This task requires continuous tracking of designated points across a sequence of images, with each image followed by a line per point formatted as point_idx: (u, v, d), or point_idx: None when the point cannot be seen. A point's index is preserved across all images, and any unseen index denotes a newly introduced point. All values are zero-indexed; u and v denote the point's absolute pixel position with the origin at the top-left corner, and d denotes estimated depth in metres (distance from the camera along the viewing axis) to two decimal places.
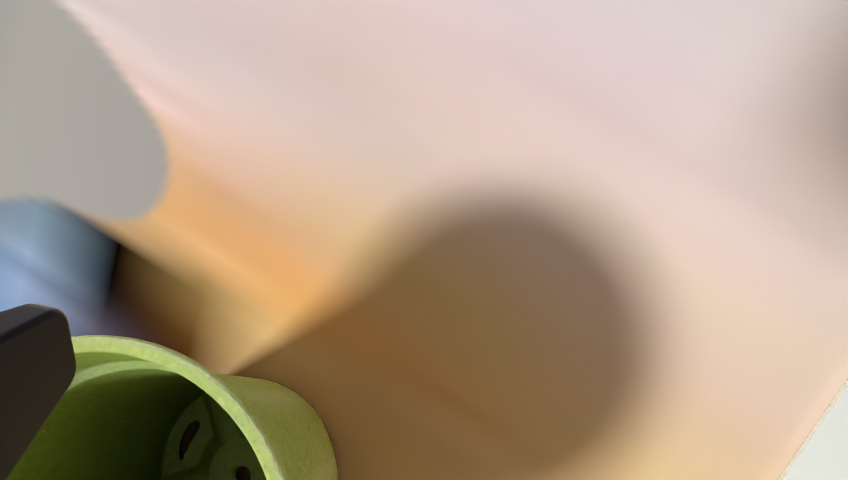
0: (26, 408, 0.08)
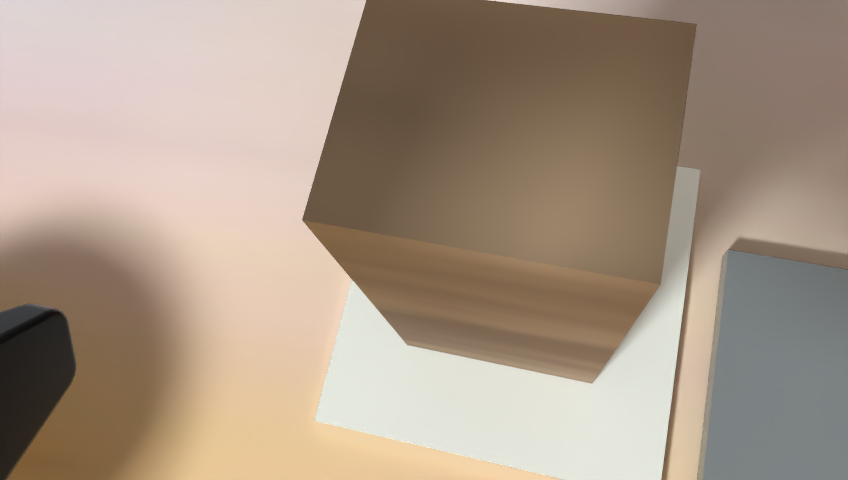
0: (26, 408, 0.08)
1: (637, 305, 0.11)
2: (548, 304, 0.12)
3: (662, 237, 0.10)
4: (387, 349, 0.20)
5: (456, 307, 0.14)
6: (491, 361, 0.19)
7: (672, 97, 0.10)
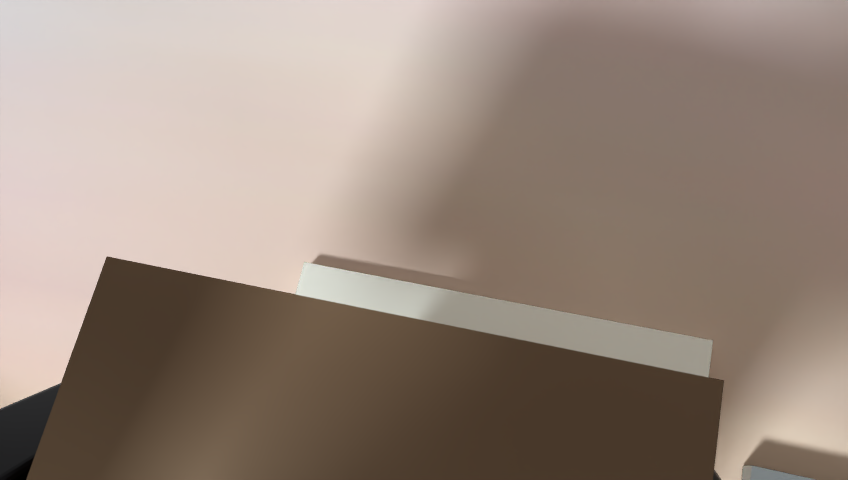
0: None
1: None
2: None
3: None
4: None
5: None
6: None
7: None
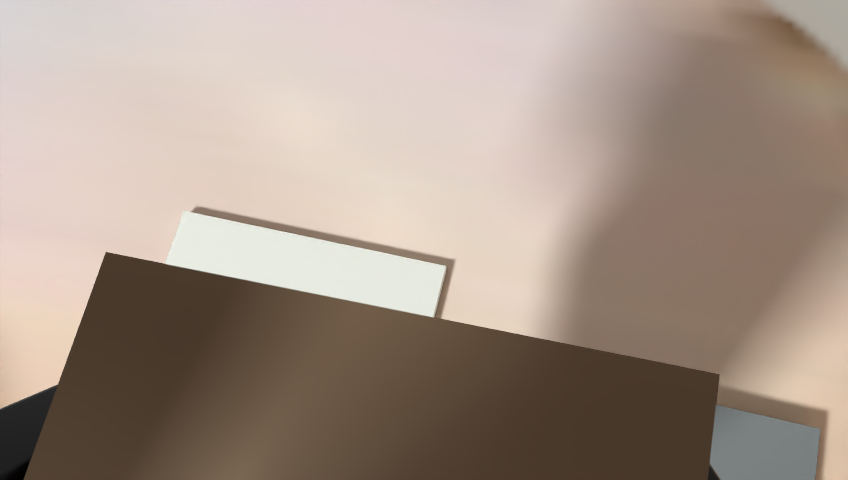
0: None
1: None
2: None
3: None
4: None
5: None
6: None
7: None
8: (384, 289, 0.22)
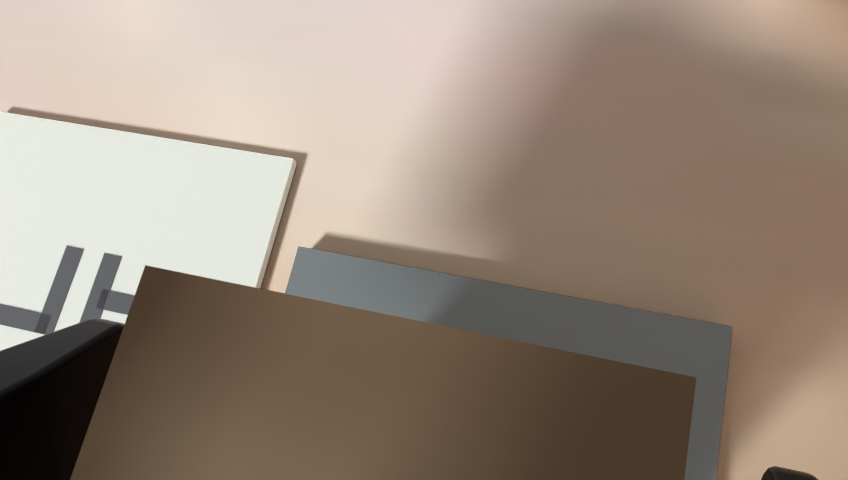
0: None
1: None
2: None
3: None
4: None
5: None
6: None
7: None
8: (220, 188, 0.19)
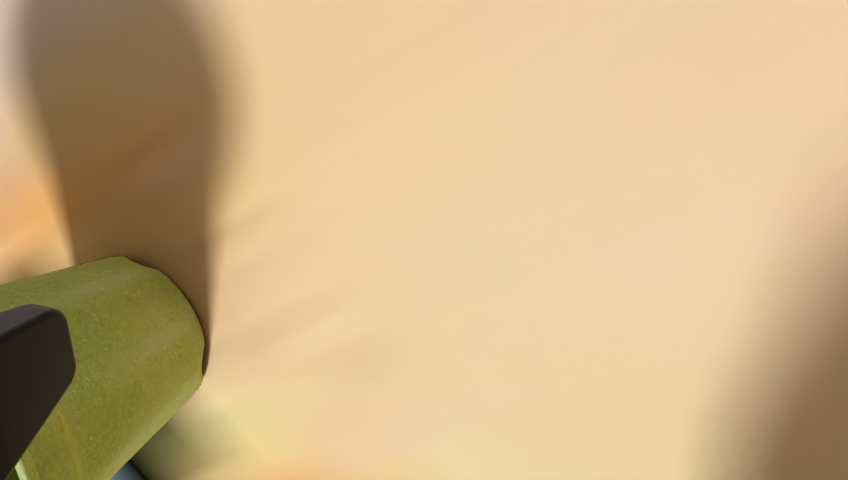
0: (26, 408, 0.08)
1: None
2: None
3: None
4: None
5: None
6: None
7: None
8: None
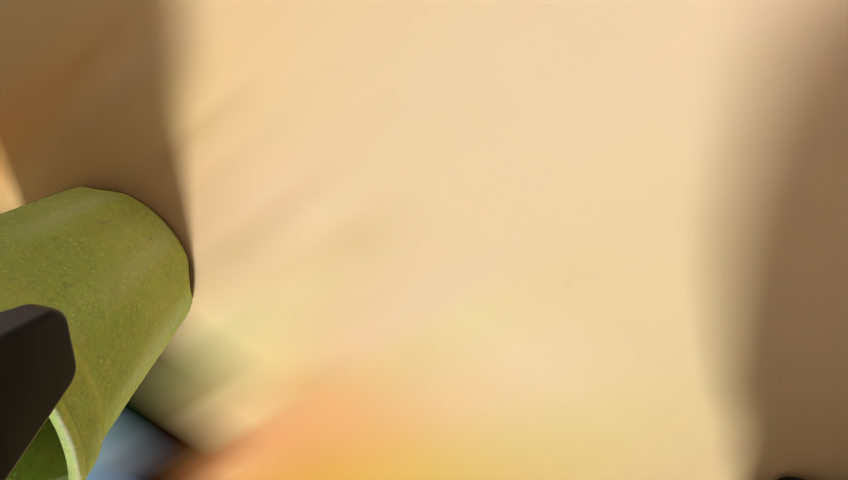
0: (26, 408, 0.08)
1: None
2: None
3: None
4: None
5: None
6: None
7: None
8: None
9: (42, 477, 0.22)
